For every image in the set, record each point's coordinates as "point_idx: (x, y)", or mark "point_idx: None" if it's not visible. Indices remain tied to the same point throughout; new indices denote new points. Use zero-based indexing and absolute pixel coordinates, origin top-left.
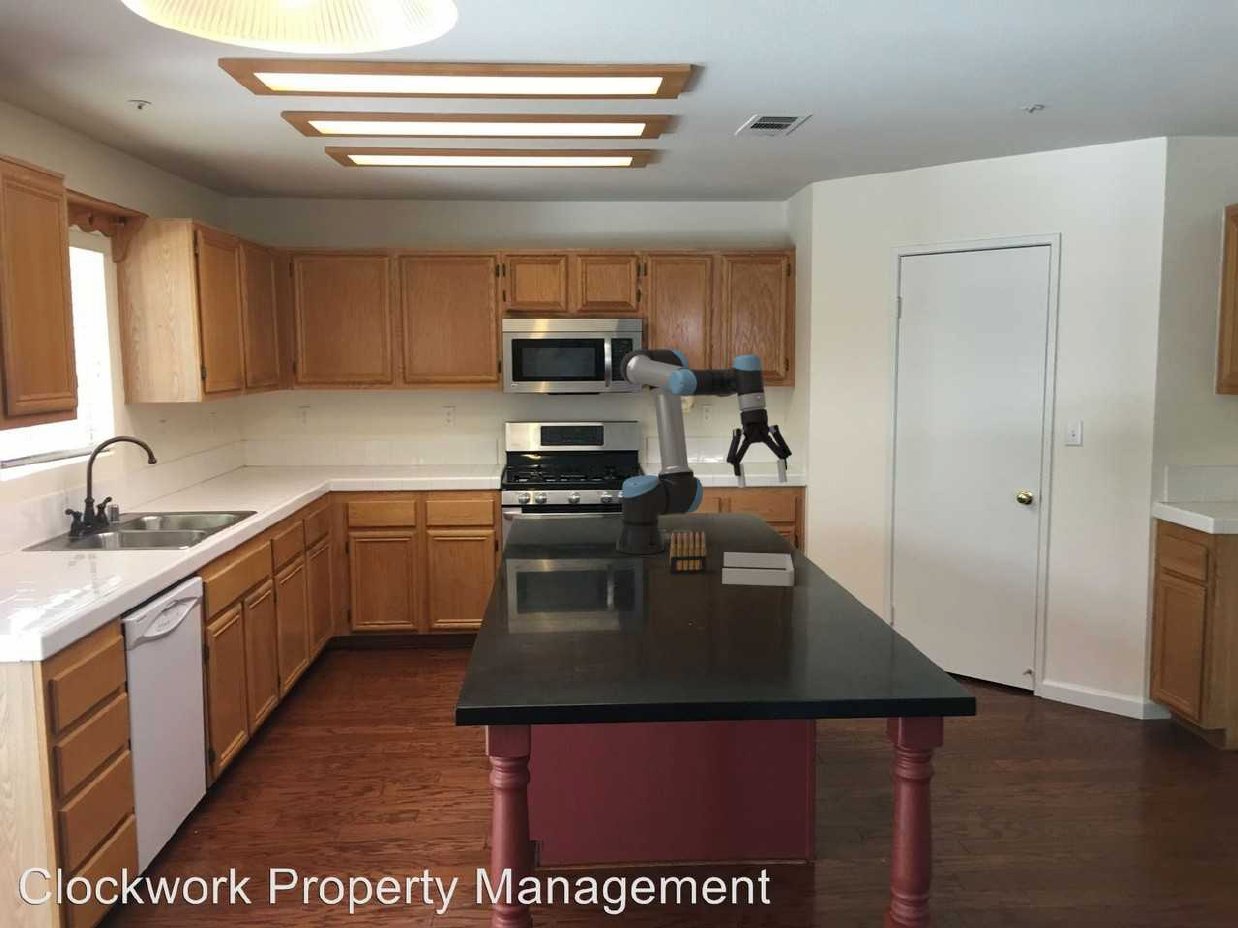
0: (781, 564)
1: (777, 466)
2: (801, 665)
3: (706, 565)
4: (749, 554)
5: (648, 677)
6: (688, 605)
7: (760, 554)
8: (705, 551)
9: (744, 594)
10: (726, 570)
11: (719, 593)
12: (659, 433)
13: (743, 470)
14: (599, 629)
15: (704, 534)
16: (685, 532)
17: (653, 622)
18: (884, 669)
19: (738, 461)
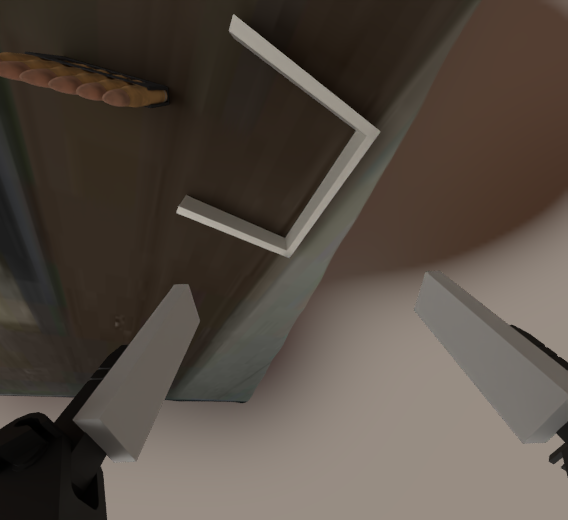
0: (351, 126)
1: (507, 342)
2: (188, 380)
3: (161, 105)
4: (295, 81)
5: (85, 381)
6: (116, 280)
7: (319, 99)
8: (143, 105)
9: (202, 260)
10: (185, 214)
11: (167, 247)
12: None
13: (159, 403)
14: (12, 321)
15: (114, 104)
16: (23, 80)
17: (74, 316)
18: (232, 385)
19: (77, 495)
